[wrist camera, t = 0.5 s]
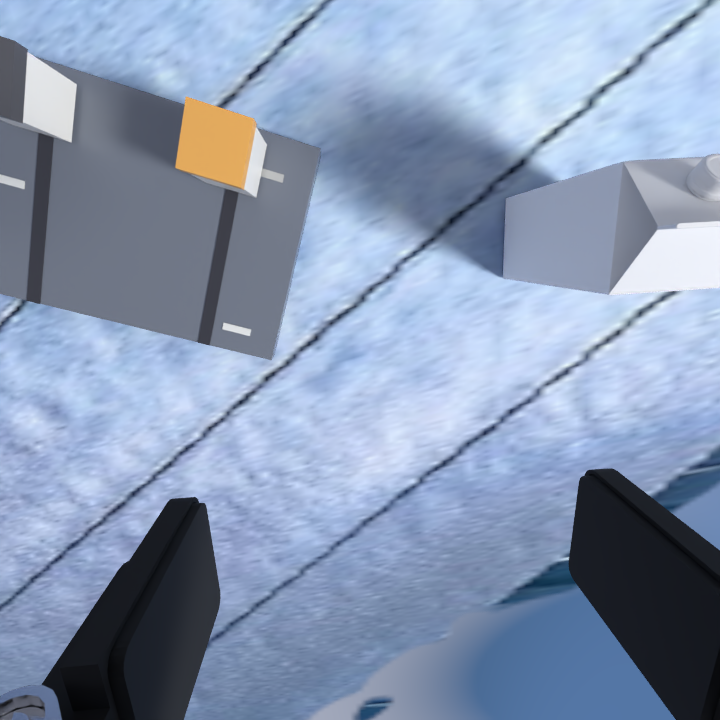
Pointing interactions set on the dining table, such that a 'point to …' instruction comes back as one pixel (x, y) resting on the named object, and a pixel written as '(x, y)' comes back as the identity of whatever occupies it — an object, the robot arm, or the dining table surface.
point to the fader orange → (220, 147)
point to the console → (149, 223)
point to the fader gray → (34, 93)
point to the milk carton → (620, 229)
